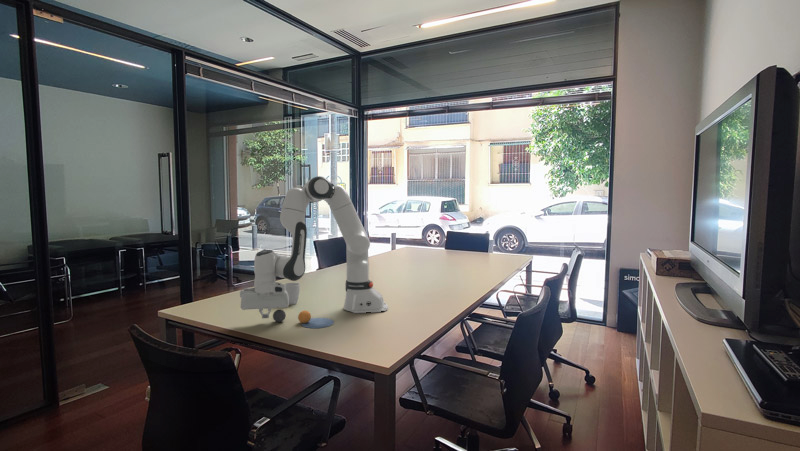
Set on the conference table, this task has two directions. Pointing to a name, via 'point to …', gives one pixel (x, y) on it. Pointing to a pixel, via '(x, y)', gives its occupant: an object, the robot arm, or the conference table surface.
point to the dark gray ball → (279, 315)
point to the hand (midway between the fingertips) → (265, 318)
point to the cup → (293, 292)
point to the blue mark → (318, 323)
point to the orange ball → (304, 316)
